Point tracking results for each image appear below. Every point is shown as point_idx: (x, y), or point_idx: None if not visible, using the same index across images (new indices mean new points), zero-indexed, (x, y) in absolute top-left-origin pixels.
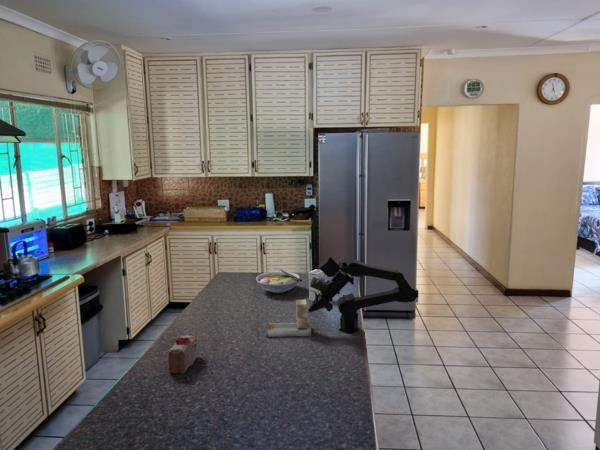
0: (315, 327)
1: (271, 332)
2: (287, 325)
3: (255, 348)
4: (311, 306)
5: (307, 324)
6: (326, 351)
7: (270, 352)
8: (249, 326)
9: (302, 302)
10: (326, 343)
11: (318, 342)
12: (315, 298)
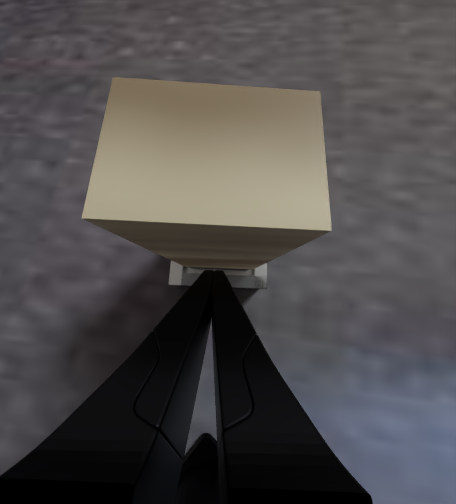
0: (258, 313)
1: None
2: None
3: None
4: (184, 305)
5: (253, 275)
6: (7, 332)
7: (69, 134)
8: (286, 83)
9: (189, 160)
10: (83, 343)
11: (102, 308)
12: (227, 497)
